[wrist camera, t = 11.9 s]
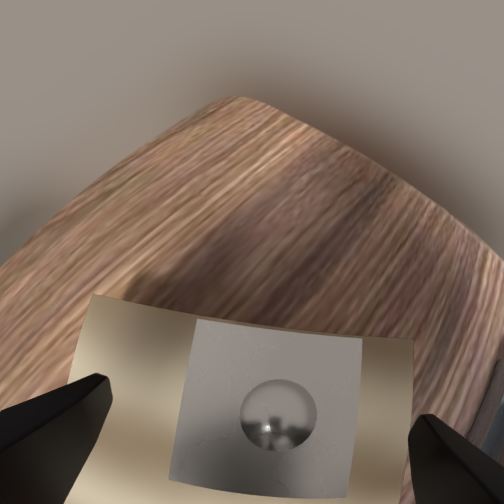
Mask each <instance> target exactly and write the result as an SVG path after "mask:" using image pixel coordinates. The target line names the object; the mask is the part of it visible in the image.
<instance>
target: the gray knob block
mask: <svg viewBox="0 0 504 504" xmlns="http://www.w3.org/2000/svg"><path fill="white" fill-rule="evenodd" d="M361 362H362V339H361V338H348V337H336V336H325V335H315V334H305V333H296V332H288V331H279V330H271V329H263V328H256V327H248V326H241V325H235V324H228V323H221V322H215V321H209V320H203V319H197V323H196V328H195V332H194V337H193V342H192V347H191V352H190V357H189V362H188V367H187V373H186V378H185V383H184V388H183V394H182V399H181V405H180V410H179V416H178V422H177V427H176V433H175V439H174V445H173V451H172V458H171V464H170V470H169V477H168V480H172V481H176V482H180V483H184V484H189V485H193V486H198V487H203V488H208V489H214V490H220V491H226V492H232V493H240V494H248V495H257V496H267V497H280V498H303V499H332V498H346V494H347V489H348V483H349V477H350V471H351V464H352V457H353V450H354V443H355V434H356V426H357V416H358V405H359V393H360V380H361Z"/></svg>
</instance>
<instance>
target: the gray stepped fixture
mask: <svg viewBox="0 0 504 504" xmlns="http://www.w3.org/2000/svg"><path fill="white" fill-rule="evenodd" d="M466 439H467V440H468V441H469V442H471V443H472V444H474V445H475V446H476V447H478V448H479V449H480V450H482V451H483V452H484V453H486V454H487V455H489V456H490V457H491V458H493V459H494V460H495V461H497V462H498V463H500V464H501V465H502V466H504V358H503V359H500V360H498V361H497V364H496V367H495V370H494V373H493V376H492V379H491V382H490V384H489V387H488V390H487V392H486V395H485V398H484V400H483V403H482V405H481V407H480V410H479V412H478V415H477V417H476V419H475V421H474V424H473V426H472V428H471V430H470V432H469V434H468V436H467V438H466Z"/></svg>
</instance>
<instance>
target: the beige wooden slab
mask: <svg viewBox="0 0 504 504" xmlns="http://www.w3.org/2000/svg"><path fill="white" fill-rule="evenodd" d="M197 319H203V320H209V321H215V322H221V323H228V324H235V325H241V326H248V327H256V328H263V329H271V330H279V331H288V332H296V333H305V334H315V335H325V336H336V337H348V338H361V339H362V362H361V380H360V393H359V405H358V416H357V426H356V434H355V443H354V450H353V457H352V464H351V471H350V477H349V483H348V489H347V494H346V498H332V499H303V498H280V497H267V496H257V495H248V494H240V493H232V492H226V491H220V490H214V489H208V488H203V487H198V486H193V485H189V484H184V483H180V482H176V481H172V480H168V477H169V470H170V464H171V458H172V451H173V445H174V439H175V433H176V427H177V422H178V416H179V410H180V405H181V399H182V394H183V388H184V383H185V378H186V373H187V367H188V362H189V357H190V352H191V347H192V342H193V337H194V332H195V328H196V323H197ZM93 373H99V374H102V375H106V376H107V377H108V378H109V379H110V384H111V390H112V395H113V402H112V405H111V408H110V410H109V412H108V415H107V417H106V420H105V422H104V425H103V427H102V430H101V432H100V435H99V437H98V440H97V442H96V444H95V446H94V448H93V450H92V452H91V453H90V455H89V457H88V459H87V461H86V463H85V464H84V466H83V468H82V470H81V472H80V474H79V476H78V478H77V479H76V481H75V483H74V485H73V487H72V489H71V491H70V493H69V495H68V497H67V498H66V500H65V502H64V504H399V500H400V495H401V490H402V485H403V479H404V473H405V467H406V460H407V452H408V435H409V432H410V426H411V414H412V399H413V376H414V339H400V338H384V337H370V336H358V335H346V334H335V333H325V332H316V331H307V330H298V329H290V328H282V327H274V326H266V325H259V324H252V323H245V322H238V321H232V320H225V319H219V318H213V317H207V316H201V315H195V314H189V313H184V312H178V311H173V310H168V309H163V308H157V307H152V306H147V305H142V304H138V303H133V302H128V301H124V300H119V299H114V298H110V297H106V296H101V295H97V294H92V297H91V300H90V303H89V306H88V309H87V312H86V315H85V319H84V322H83V325H82V329H81V332H80V336H79V339H78V343H77V347H76V350H75V354H74V358H73V362H72V366H71V370H70V375H69V379H68V383H67V384H70V383H72V382H74V381H77V380H79V379H81V378H84V377H86V376H89V375H91V374H93Z"/></svg>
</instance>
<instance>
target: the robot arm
mask: <svg viewBox="0 0 504 504" xmlns="http://www.w3.org/2000/svg"><path fill="white" fill-rule="evenodd" d="M112 402H113V395H112V390H111V384H110V379H109V378H108V377H107V376H106V375H102V374H99V373H93V374H91V375H89V376H86V377H84V378H81V379H79V380H77V381H74V382H72V383H70V384H67V385H65V386H62V387H60V388H57V389H55V390H52V391H50V392H47V393H45V394H42V395H40V396H37V397H35V398H32V399H30V400H27V401H25V402H22V403H20V404H17V405H14V406H12V407H9V408H6V409H4V410H1V412H0V504H64V502H65V500H66V498H67V497H68V495H69V493H70V491H71V489H72V487H73V485H74V483H75V481H76V479H77V478H78V476H79V474H80V472H81V470H82V468H83V466H84V464H85V463H86V461H87V459H88V457H89V455H90V453H91V452H92V450H93V448H94V446H95V444H96V442H97V440H98V437H99V435H100V432H101V430H102V427H103V425H104V422H105V420H106V417H107V415H108V412H109V410H110V408H111V405H112ZM408 447H409V457H410V467H411V478H412V484H413V490H414V495H415V500H416V504H504V466H502V465H501V464H500V463H498V462H497V461H495V460H494V459H493V458H491V457H490V456H489V455H487V454H486V453H484V452H483V451H482V450H480V449H479V448H478V447H476V446H475V445H474V444H472V443H471V442H469V441H468V440H467V439H465V438H464V437H463V436H461V435H460V434H459V433H457V432H456V431H455V430H453V429H452V428H451V427H449V426H448V425H447V424H445V423H444V422H443V421H441V420H440V419H439V418H437V417H436V416H435V415H433V414H422V415H420V416H419V417H418V418H417V420H416V422H415V423H414V425H413V427H412V429H411V430H410V432H409V435H408Z"/></svg>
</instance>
